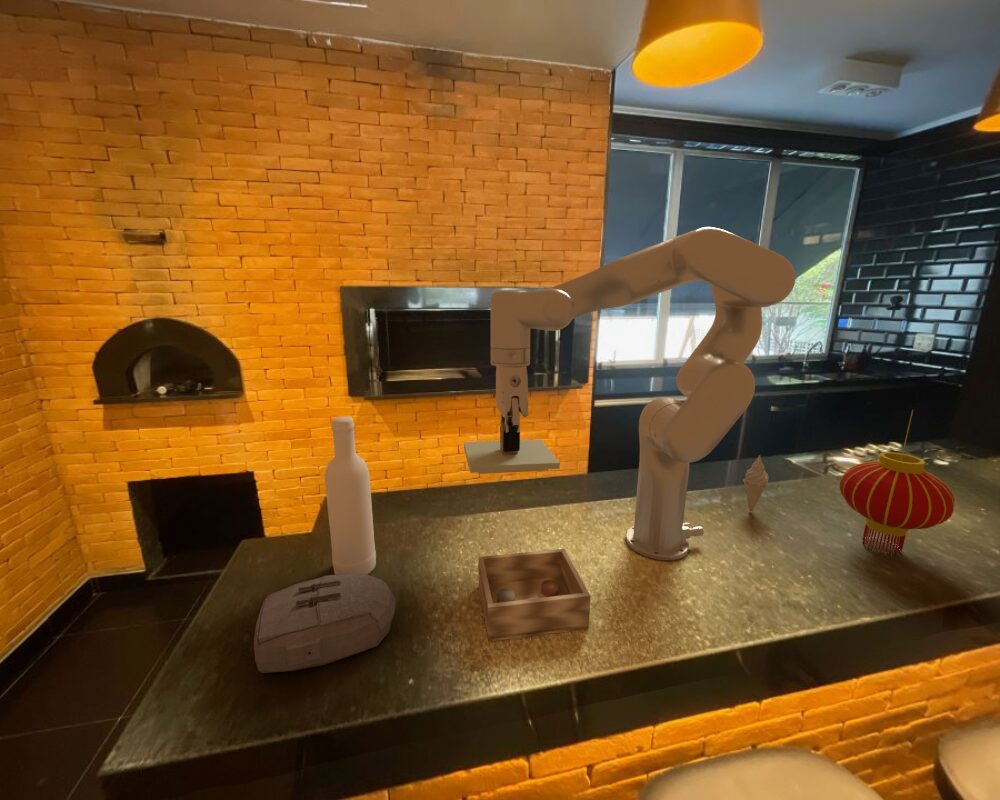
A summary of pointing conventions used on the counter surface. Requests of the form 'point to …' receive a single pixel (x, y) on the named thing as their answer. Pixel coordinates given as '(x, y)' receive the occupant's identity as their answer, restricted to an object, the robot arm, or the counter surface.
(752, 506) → the ice cream cone
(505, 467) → the lid
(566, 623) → the storage box
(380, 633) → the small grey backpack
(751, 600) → the counter surface
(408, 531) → the counter surface
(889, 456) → the lantern
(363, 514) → the bottle
